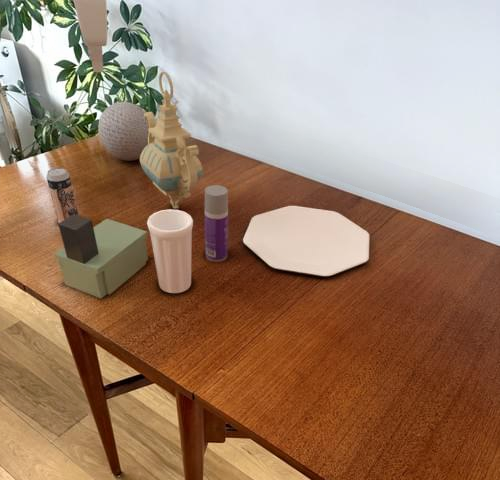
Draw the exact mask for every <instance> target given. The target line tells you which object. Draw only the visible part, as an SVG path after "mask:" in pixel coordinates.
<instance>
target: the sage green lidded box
mask: <svg viewBox="0 0 500 480" xmlns="http://www.w3.org/2000/svg"><path fill="white" fill-rule="evenodd" d="M93 228H94V233H95V238H96V243H97V247H98V252H99V254H97V255H96V256H95V257H93V258H92V259H90V260H89V261H88V262H86V263H85V264H83V263H80V262H77V261H75V260H72V259H69V258H67V255H66V251H65V248H64V246H63V247H61V248H60V249H58V250H57V251H55V252H54V253H53V254H54V258H55V260H57V261H58V264H59V267H60V268H59V269H60V271H61V272H60V273H61V276H62V278H63V282H64V285H65V286H68V287H70V288H73V289H76V290H78V291H81V292H83V293H86V294H88V295H91V296H94V297H96V298H99V299H103V298H104V297H105V296H106V295H108V296H110V295H111V294H112V293H114V292H115V291H116V290H117V289H118V288H120V286H122V285H123V284H125V283H126V282H127V281H128V280H129V279H131V277H133V276H134V275H135V274H136V273H137V272H138V271H140V270H141V269H142V268H143V267H144V266H145V265H147V261H148V260H149V257H148V256H149V255H148V249H147V241H146V239H147V238H148V236H149V235H148V231H147V230H145V229H140V228H138V227H134V226H133V225H132V226H131V225H128V224H126V223H122V222H119V221H116V220H113V219H109V218H105V219H103V220H102V221H101V222H99V223H98V224H96V225H95V226H93Z"/></svg>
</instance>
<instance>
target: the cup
mask: <svg viewBox="0 0 500 480" xmlns="http://www.w3.org/2000/svg"><path fill="white" fill-rule="evenodd" d="M146 225H147V228H148V231H149V235H150V240H151V247H152V252H153V257H154V258H153V259H154V264H155V270H156V275H157V281H158V286H159V288H160V289H161V290H162V291H163V292H166V293H169V294H180V293H183V292H185V291H187V290H189V288H190V287H191V285H192V245H193V241H192V240H193V239H192V238H193V233H192V231H193V226H194V220H193V218H192V216H191V215H190V214H189V213H187V212H186V211H184V210H179V209H171V208H169V209H163V210H159V211H155V212H153V213H152V214H151V215H150V216H148V218H147V221H146Z"/></svg>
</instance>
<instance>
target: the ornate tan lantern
mask: <svg viewBox="0 0 500 480" xmlns="http://www.w3.org/2000/svg"><path fill="white" fill-rule="evenodd" d="M163 75H165V76H166V79H167V81H168V84H169V91H170V92H169V91H168V90H167V89H165V90H164V87H163V83H162V82H163V81H162V79H163ZM158 85H159V90H160V93H161V95H162V98H163V99H162V100H161V102H162V104H159V103H156V105H157V109H159V113H156V116H157V117H158V120H156V117H155V114H154V113H153V111H147V112H146V111H145V112H146V113H144V114H145V115H144V120H148V122H149V129H148V131H149V134H148V145H147V146H146V147H145V148H144V150H143V151H142V153H141V155H140V158H139V164H140V166H141V169H142V171H143V172H144V174H145V175H146V176H147V177H148V178H149V179H150V180H151V181H152V184H153V185H154V186H155V187H156V188H157V189H158V190H159V191H160V192H161V193H162V194H163V195H164V196H167V197H168V198H169V202H170V204H171V206H172V208H173V210H177V209H180V204H179V203H181V202H182V199H186V198H190V197H191V196H192V194H191V192H190V191H193V190H195V189H196V187H197V184H198V182H199V180H200V179H201V177H202V175H203V172H204V171H203V170H204V169H203V165H202V162H201V161H200V159H199V158H198V157H197V156H198V155H199V153H200V150H199V146H198V145H197V144H194V145H187V144H186V140H187V139H189V138H191V136H192V134H191V133H190V132H188V131H187V130H186V129H184V128H183V127H182V125H183V124H182V123H181V122H179V119H180V118H181V116H179V115H178V114H177V112H178V107H177V106H176V105H177V104H178V103H179V100H175V101H174V103H171V100H172V99H173V96H174V85H173V82H172V79H171V76H170V75H169V73H168V72H166V71H161V72H160V74H159V76H158Z"/></svg>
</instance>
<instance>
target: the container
mask: <svg viewBox="0 0 500 480" xmlns="http://www.w3.org/2000/svg"><path fill="white" fill-rule="evenodd" d="M228 234H229V191H228V188H227V187H225V186H223V185H218V184H213V185H209V186H207V187H205V189H204V244H205V245H204V248H205V249H204V251H205V258H206V259H207V260H208V261H210V262H217V263H218V262H223V261H225V260H226V259H227V258H228V246H229V245H228V241H229V240H228V238H229V237H228V236H229V235H228Z"/></svg>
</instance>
